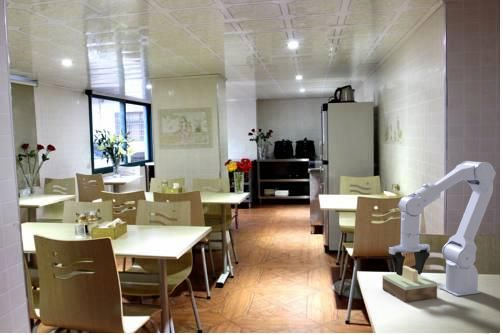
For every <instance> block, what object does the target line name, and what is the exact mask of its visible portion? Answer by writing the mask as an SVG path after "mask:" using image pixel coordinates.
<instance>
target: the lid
mask: <svg viewBox="0 0 502 335" xmlns="http://www.w3.org/2000/svg"><path fill="white" fill-rule="evenodd" d="M383 278H384V279H385V280H387V281H389V282H391V283H393V284H395V285H397V286H399V287H400V288H402V289H404V290H411V289H418V288H426V287H434V286H437V287H438V282H436V281H434V280H432V279H430V278H427V277H426V276H423V275H421V274H420V275H419V274H418V271H417V270H414V269H412V268H410V267H408V266H403V273H402V276H399V275H397V274H396V273H389V274H388V273H387V274H382V279H383Z"/></svg>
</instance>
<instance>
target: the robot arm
mask: <svg viewBox="0 0 502 335" xmlns="http://www.w3.org/2000/svg"><path fill="white" fill-rule="evenodd" d="M496 175H497V173H496V171H495V169H494V166H493V165H492V164H491V163H490V162H487V161H482V162H481V161H471V160H465V161H462V162H461V163H460V164H456V167H454V168H453V169H452V170H451V171H450V172H448V173H447V174H446V175H444V176H443V177H441V178H440V179H439V180H437V181H436V182H435V183H430V182H429V183H424V184H422V185H421V186H422V187H421V188H419V189H417V190H416V191H412V192H410V195H405V196H403V197H401V198H400V200H399V202H398V203H397V208H398V210H399V212H400V244H398V245H394V246H389V247H388V253H389V257H390V258H391V260H392V262H393V265H394V269H395V274H397V275H399V276H402V273H403V263H404V259H405V256H402V255H403V253H407V252H414V255H415V269H416V270H417V271H418V273H420V275H421V274H422V272H423V270H424V267H425V264H426V263H427V261H428V258H429V257H430V254H431V253H430V251H431V245H430V244H427V243H420V226H421V225H420V223H421V218H420V217H421V214H422V213H423V212H424V209H425V208H426V207H428V206H429V205H430V204H432V203H433V202H435V201H437V200H438V199H439V198H440V197H441V194H442V192H444V191H446V190H447V189H449V188H451V187H452V186H454V185H456V184H457V183H460V182H461V181H465V182H466V183H467V184H468V185H469V186H470V188H471V190H472V192H471V195H470V198H469V199H468V200H469V201H468V203H467V205H466V208H465V210H464V212H463V216H462V218H461V221H460V223H459V226H458V227H457V229H456V233H455V234H453V235H452V236H450V237H449V239H448V240H447V242H446V243H445V244H444V245H443V247H442V250H441V253H442V256H443V258H444V259H445V264H446V265H445V267H446V268H445V285H441V286H439V289H441V290H443V291H446V292H448V293H449V294H451V295H453V296H456V297H460V296H467V295H474V294H475V295H476V294H479V293H481V292H480V291H479V290H478V287H479V286H478V285H479V284H478V283H479V273H478V270H477V269H478V268H477V267H476V266H475V265H474V264H475V262H476V259H477V256H476V253H477V250H478V247H477V245H476V242H475V238H476V235H477V233H478V230H479V228H480V226H481V222H482V220H483V218H484V215H485V213H486V210H487V208H488V206H489V203H490V200H491V197H492V195H493V192H494V179H495V176H496Z"/></svg>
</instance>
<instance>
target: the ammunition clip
mask: <svg viewBox="0 0 502 335" xmlns="http://www.w3.org/2000/svg"><path fill="white" fill-rule="evenodd" d="M402 256H405V259H404V263H403V266H408V267H410V268H412V269H414V270H416V269H415V255H414V252H407V253H402ZM418 274H419V275H421V274H420V273H418Z"/></svg>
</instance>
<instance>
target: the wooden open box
mask: <svg viewBox="0 0 502 335" xmlns="http://www.w3.org/2000/svg"><path fill="white" fill-rule="evenodd" d="M382 289H383V291H385V292H387V293H388V294H389V295H391V296H393V297H395V298H396V299H398V300H399V301H401V302H404V303H413V302H419V301H427V300H428V301H429V300H433V299H434V300H435V299H437V298H438V285H437V286H434V287H426V288H418V289H411V290H404V289H402V288H400V287H399V286H397V285H395V284H393V283H391V282H389V281H387V280H385V279H384V278H383V277H382Z"/></svg>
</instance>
